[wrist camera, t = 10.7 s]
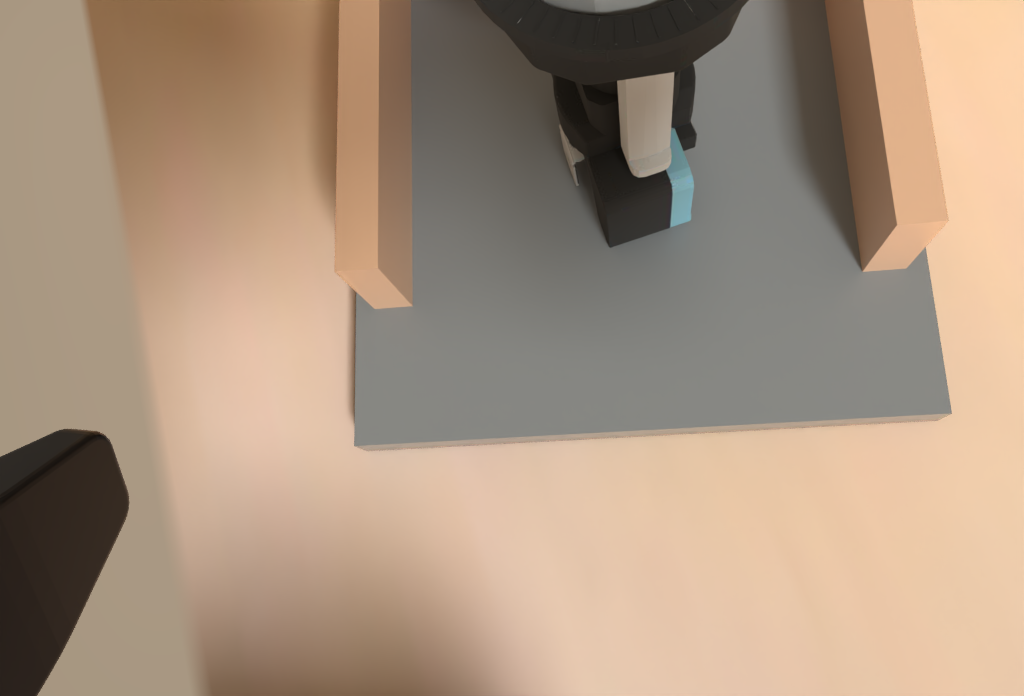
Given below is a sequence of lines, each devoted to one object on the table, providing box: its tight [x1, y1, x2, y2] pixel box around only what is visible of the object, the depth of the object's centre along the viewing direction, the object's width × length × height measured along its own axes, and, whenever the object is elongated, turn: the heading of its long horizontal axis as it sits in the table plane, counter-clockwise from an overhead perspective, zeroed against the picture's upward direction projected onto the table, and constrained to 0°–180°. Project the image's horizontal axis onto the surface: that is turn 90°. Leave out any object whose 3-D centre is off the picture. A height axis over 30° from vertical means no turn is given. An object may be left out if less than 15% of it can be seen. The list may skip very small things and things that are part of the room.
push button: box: [474, 0, 749, 248], centre depth 18 cm, size 7×5×10 cm
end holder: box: [335, 0, 952, 451], centre depth 22 cm, size 16×14×4 cm
